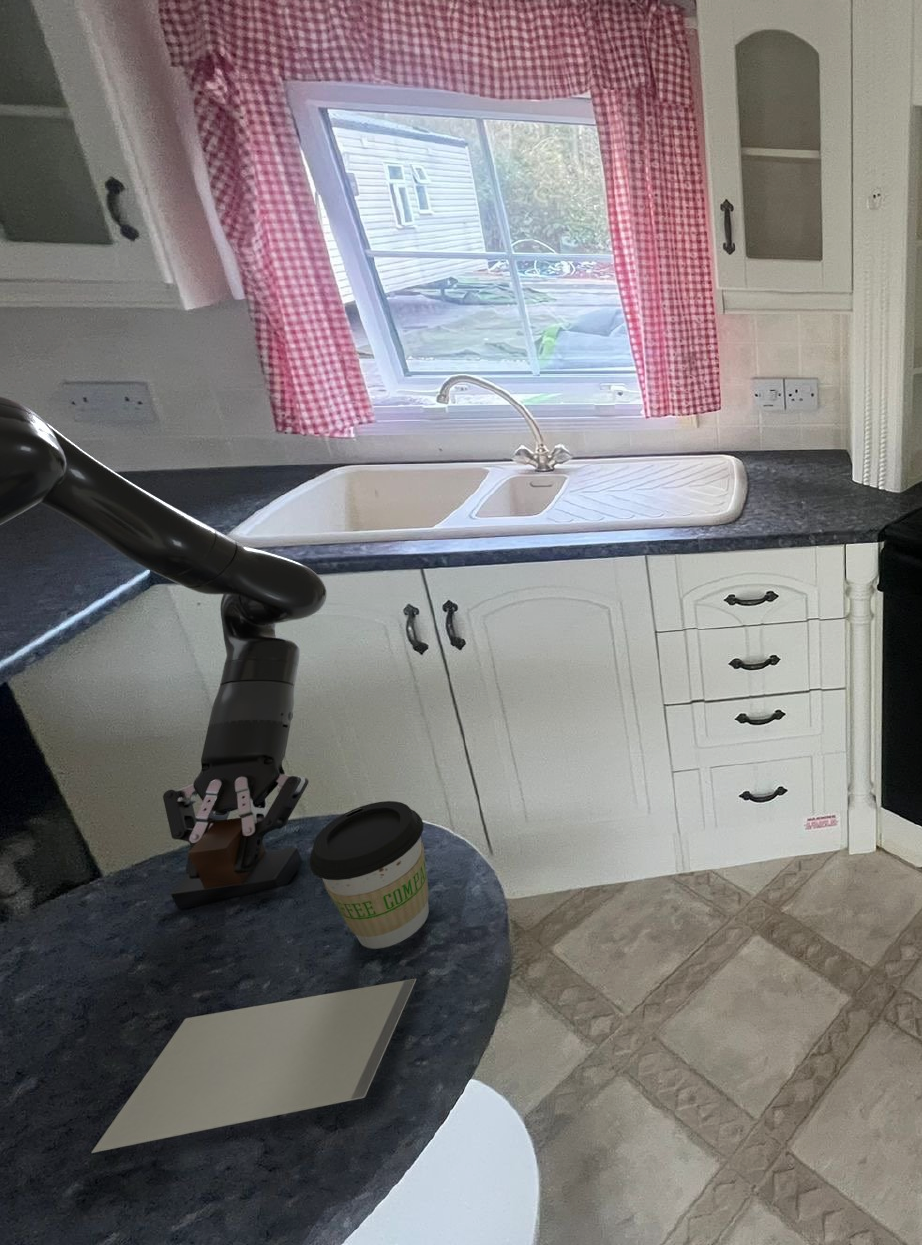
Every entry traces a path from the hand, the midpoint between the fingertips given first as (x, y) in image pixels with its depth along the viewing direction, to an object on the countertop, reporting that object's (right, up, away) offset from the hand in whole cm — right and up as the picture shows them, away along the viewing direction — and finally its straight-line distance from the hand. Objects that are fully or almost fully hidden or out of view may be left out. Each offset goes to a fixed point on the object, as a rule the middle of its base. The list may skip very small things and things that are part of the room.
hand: (221, 874), depth 88 cm
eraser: (-1, -3, +3) cm, 4 cm away
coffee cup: (+21, -6, -1) cm, 22 cm away
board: (+20, -11, -15) cm, 27 cm away
